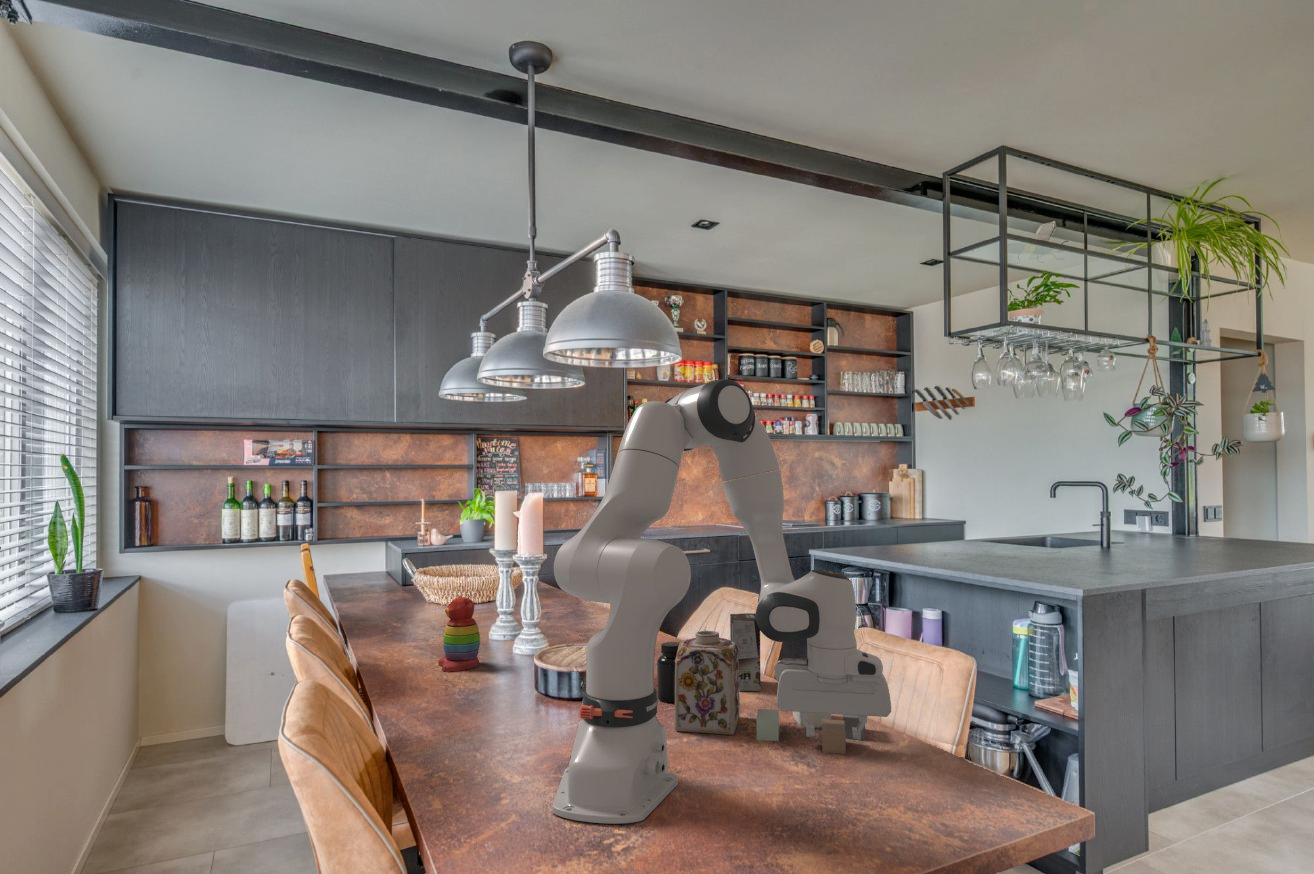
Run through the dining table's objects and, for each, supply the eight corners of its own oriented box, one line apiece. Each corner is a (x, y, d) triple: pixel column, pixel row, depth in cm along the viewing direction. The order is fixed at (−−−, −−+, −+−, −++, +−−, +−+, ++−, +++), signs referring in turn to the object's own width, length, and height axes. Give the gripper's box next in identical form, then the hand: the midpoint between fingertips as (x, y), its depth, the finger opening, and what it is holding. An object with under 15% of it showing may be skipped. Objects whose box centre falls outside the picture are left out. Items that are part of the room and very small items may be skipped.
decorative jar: (734, 736, 140) (733, 639, 141) (673, 732, 142) (673, 637, 143) (740, 716, 152) (739, 627, 153) (684, 712, 154) (683, 625, 155)
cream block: (831, 728, 145) (830, 707, 145) (800, 728, 145) (800, 707, 145) (821, 715, 153) (821, 695, 153) (792, 715, 153) (792, 695, 153)
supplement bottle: (689, 694, 167) (688, 640, 167) (687, 703, 160) (687, 647, 161) (658, 694, 167) (658, 640, 168) (655, 703, 161) (655, 647, 161)
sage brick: (778, 741, 137) (778, 719, 138) (756, 740, 138) (756, 718, 138) (779, 730, 143) (778, 709, 143) (758, 729, 144) (758, 708, 144)
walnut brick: (845, 754, 131) (845, 731, 131) (822, 752, 132) (822, 729, 132) (844, 742, 137) (844, 720, 137) (822, 740, 138) (822, 718, 138)
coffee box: (761, 691, 169) (760, 619, 170) (733, 691, 169) (732, 619, 170) (757, 680, 178) (756, 612, 179) (730, 680, 178) (729, 612, 179)
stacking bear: (436, 663, 197) (437, 595, 198) (475, 659, 201) (476, 592, 202) (443, 672, 187) (444, 601, 188) (483, 668, 191) (484, 598, 192)
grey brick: (865, 740, 138) (865, 718, 138) (843, 738, 139) (842, 716, 139) (865, 729, 144) (864, 708, 144) (843, 727, 145) (843, 707, 145)
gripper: (773, 661, 134) (774, 739, 133) (891, 666, 130) (893, 747, 129) (775, 653, 140) (776, 727, 140) (888, 658, 136) (889, 735, 135)
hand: (833, 737), depth 134 cm, fingers open, 7 cm apart
